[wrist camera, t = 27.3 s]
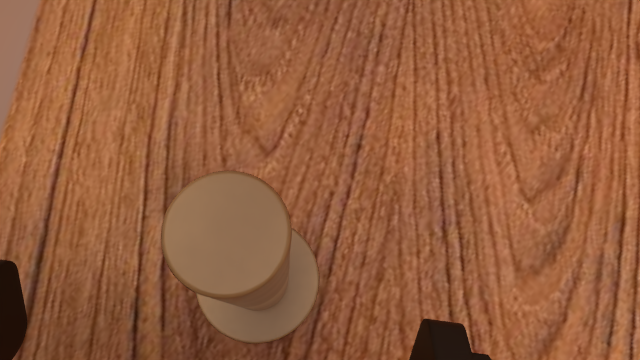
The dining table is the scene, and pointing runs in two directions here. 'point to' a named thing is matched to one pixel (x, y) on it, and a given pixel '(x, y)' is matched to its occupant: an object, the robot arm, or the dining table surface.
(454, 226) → the dining table surface
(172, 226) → the peg on round base
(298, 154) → the dining table surface
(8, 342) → the robot arm
